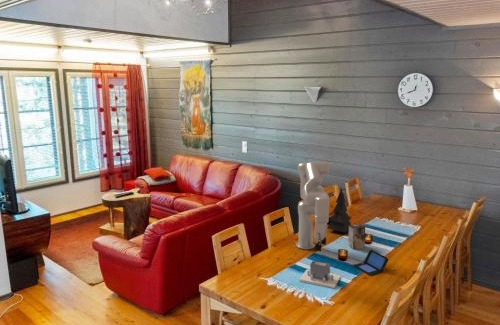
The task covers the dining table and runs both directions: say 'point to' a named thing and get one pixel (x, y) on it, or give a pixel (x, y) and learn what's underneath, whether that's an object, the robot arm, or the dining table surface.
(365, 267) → the handheld game console
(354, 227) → the coffee box
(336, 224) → the decorative tree
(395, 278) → the dining table surface
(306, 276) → the pin tray
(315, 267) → the block
